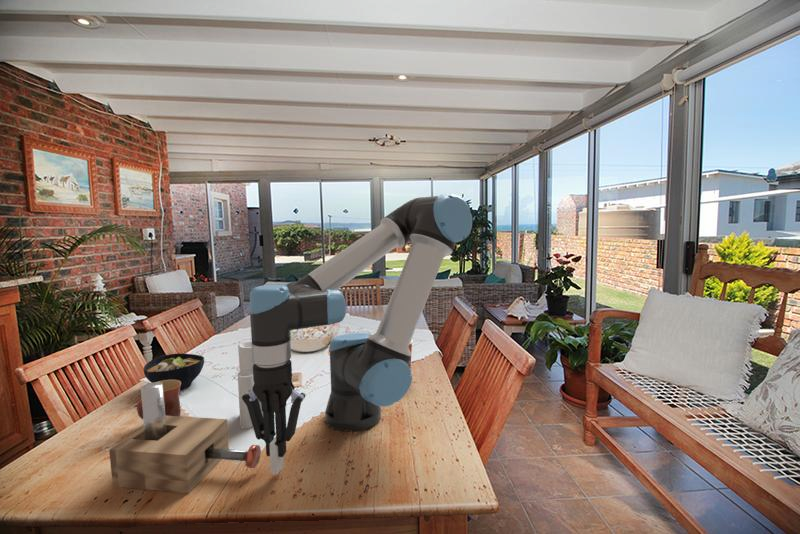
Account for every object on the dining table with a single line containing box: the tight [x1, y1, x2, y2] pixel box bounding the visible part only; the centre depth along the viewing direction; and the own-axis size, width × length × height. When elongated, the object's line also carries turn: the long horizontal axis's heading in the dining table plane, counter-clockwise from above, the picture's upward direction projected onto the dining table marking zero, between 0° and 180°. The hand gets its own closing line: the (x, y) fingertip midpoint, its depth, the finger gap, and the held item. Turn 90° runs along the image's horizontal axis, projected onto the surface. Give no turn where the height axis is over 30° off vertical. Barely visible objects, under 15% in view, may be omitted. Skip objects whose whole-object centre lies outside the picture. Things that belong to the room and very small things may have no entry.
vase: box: [237, 340, 263, 429], centre depth 104 cm, size 11×7×20 cm, turn 19°
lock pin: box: [205, 444, 262, 469], centre depth 81 cm, size 14×4×4 cm, turn 83°
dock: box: [108, 415, 230, 494], centre depth 83 cm, size 17×14×8 cm
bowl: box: [143, 353, 205, 392], centre depth 125 cm, size 17×17×10 cm
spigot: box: [140, 382, 167, 441], centre depth 83 cm, size 4×4×14 cm
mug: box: [136, 380, 182, 420], centre depth 101 cm, size 12×9×10 cm
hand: (277, 469), depth 80 cm, fingers closed
